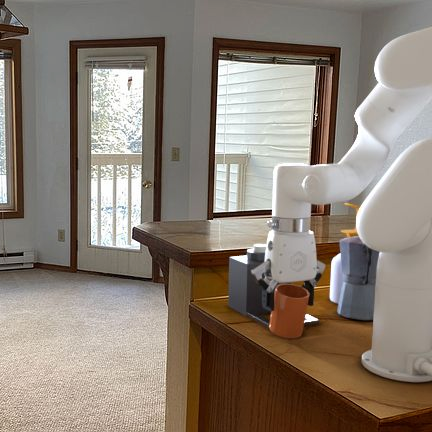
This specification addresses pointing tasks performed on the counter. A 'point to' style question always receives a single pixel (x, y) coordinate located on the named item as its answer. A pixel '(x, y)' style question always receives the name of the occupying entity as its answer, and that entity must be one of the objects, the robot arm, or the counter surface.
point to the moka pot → (357, 279)
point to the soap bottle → (339, 266)
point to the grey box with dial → (246, 283)
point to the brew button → (260, 248)
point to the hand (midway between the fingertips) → (288, 306)
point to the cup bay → (265, 322)
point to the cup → (289, 310)
